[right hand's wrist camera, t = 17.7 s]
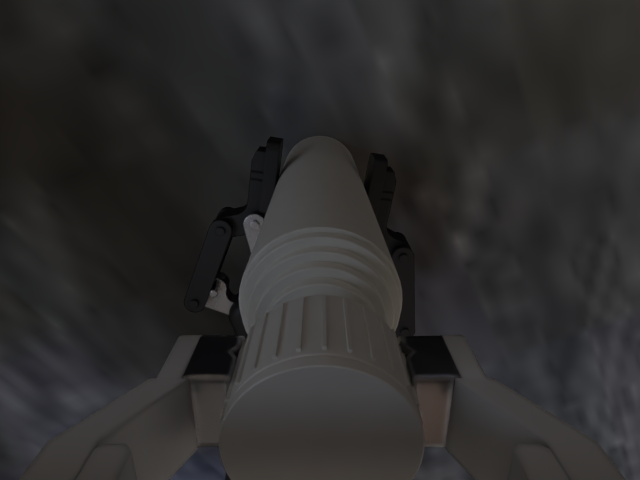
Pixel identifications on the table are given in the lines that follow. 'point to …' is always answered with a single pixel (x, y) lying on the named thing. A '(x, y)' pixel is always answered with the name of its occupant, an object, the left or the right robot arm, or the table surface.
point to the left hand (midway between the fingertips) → (327, 149)
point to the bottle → (320, 239)
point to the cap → (321, 398)
